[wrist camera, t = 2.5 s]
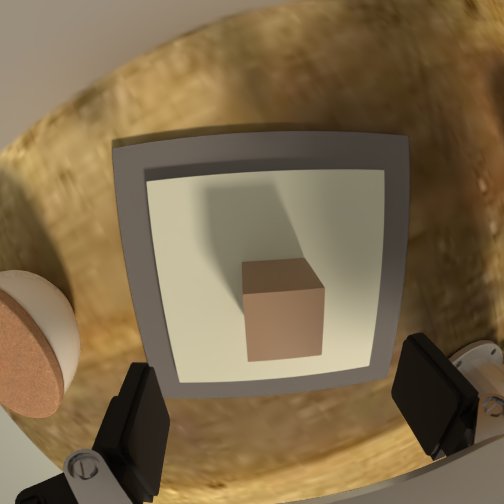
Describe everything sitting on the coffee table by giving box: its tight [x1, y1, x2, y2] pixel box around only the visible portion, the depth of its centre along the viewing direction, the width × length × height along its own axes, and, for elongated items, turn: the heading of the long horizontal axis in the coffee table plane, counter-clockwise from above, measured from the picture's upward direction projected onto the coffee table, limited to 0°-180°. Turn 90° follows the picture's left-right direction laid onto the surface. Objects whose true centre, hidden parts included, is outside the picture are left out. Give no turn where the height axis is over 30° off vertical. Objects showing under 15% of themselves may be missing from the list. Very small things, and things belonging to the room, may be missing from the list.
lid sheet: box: [147, 169, 384, 383], centre depth 18 cm, size 15×15×6 cm
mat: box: [112, 131, 410, 398], centre depth 21 cm, size 20×20×1 cm
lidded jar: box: [0, 270, 81, 418], centre depth 17 cm, size 11×11×9 cm
